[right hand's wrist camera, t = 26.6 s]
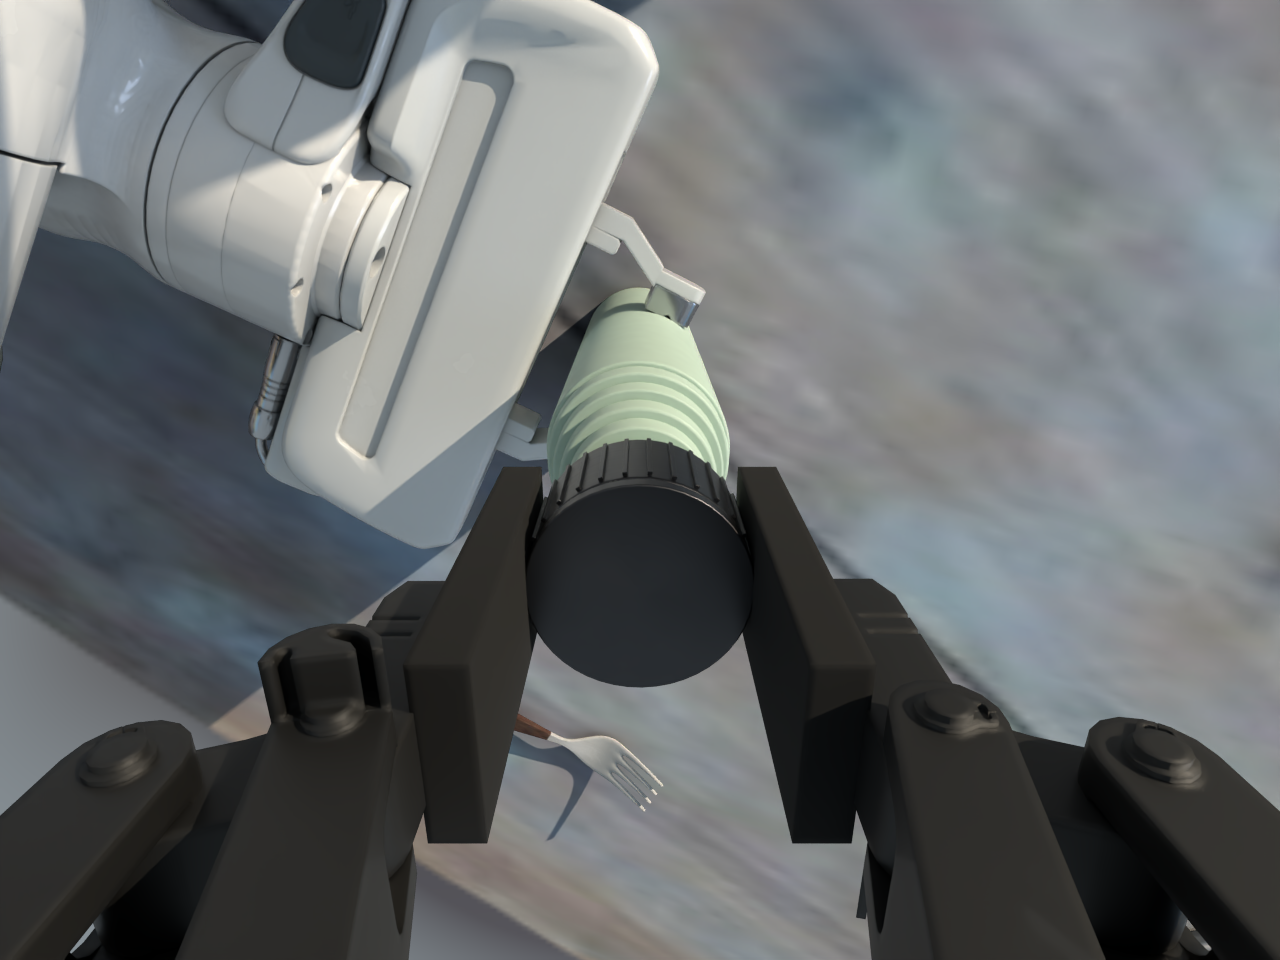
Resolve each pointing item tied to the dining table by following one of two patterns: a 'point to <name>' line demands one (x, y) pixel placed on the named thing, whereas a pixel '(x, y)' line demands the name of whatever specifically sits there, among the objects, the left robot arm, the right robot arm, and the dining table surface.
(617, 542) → the cap
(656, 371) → the bottle
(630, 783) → the fork
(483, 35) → the left robot arm
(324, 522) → the dining table surface
